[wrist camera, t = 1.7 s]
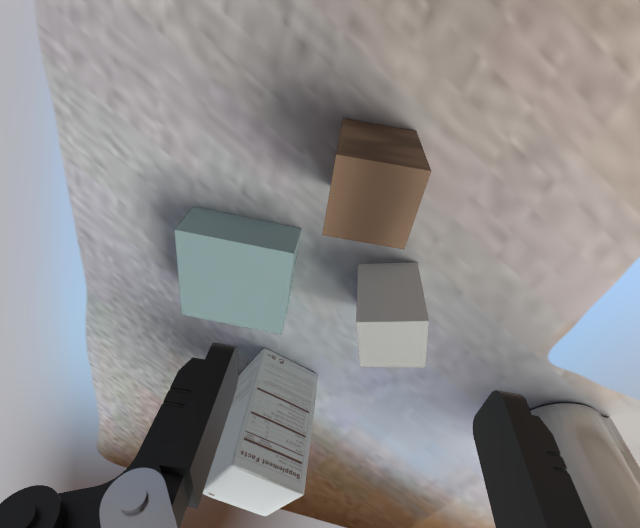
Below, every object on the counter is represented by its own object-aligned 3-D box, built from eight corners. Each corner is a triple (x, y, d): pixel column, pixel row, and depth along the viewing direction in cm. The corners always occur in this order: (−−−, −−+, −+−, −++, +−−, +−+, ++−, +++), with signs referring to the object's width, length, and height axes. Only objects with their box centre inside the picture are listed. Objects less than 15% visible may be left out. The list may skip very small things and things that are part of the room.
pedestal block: (301, 226, 30) (294, 253, 27) (289, 303, 35) (281, 334, 32) (194, 204, 30) (174, 229, 27) (198, 285, 35) (181, 314, 32)
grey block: (417, 261, 31) (428, 321, 25) (415, 305, 34) (425, 367, 28) (358, 264, 31) (356, 322, 26) (361, 306, 34) (360, 366, 29)
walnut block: (416, 130, 24) (431, 171, 19) (396, 197, 27) (404, 249, 22) (343, 118, 24) (336, 154, 19) (331, 186, 27) (322, 235, 22)
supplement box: (287, 401, 45) (265, 519, 35) (235, 376, 43) (194, 493, 33) (321, 374, 41) (306, 497, 31) (264, 345, 39) (229, 467, 29)
